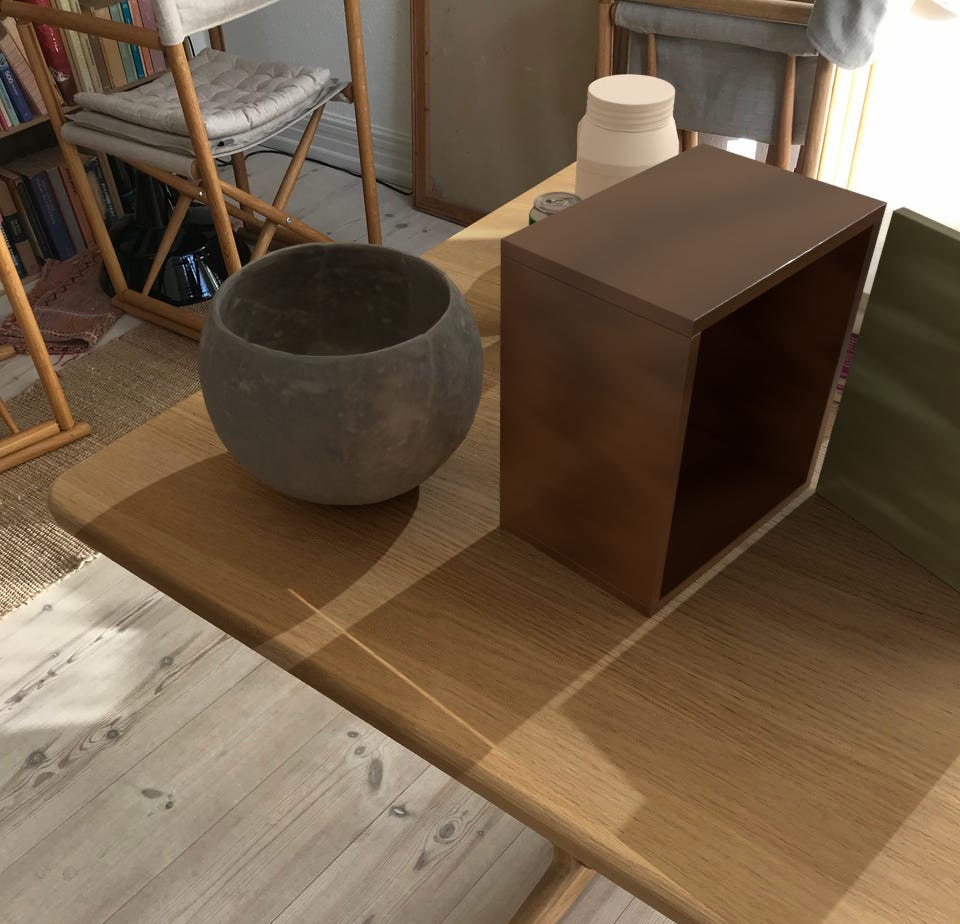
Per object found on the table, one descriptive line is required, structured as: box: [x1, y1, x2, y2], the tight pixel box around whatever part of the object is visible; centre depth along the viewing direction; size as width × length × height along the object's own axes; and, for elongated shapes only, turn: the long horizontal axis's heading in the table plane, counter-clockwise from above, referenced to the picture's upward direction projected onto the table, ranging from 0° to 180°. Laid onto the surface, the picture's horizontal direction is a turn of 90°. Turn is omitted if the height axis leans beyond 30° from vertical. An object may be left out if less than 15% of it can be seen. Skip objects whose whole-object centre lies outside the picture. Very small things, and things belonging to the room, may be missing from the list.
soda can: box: [528, 191, 583, 226], centre depth 92 cm, size 5×5×12 cm
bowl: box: [197, 241, 485, 506], centre depth 77 cm, size 20×20×15 cm
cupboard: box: [499, 142, 888, 618], centre depth 71 cm, size 14×20×22 cm
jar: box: [574, 73, 680, 200], centre depth 104 cm, size 12×10×15 cm
